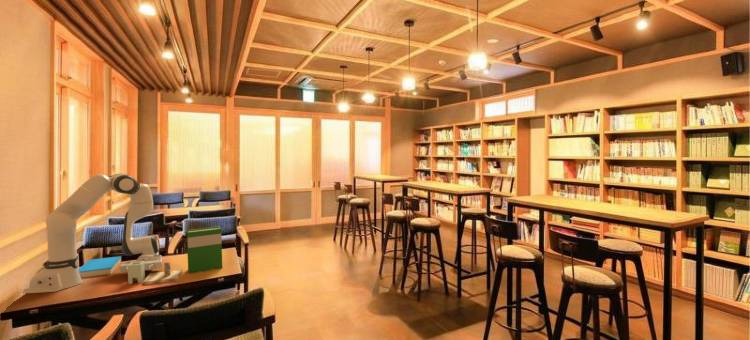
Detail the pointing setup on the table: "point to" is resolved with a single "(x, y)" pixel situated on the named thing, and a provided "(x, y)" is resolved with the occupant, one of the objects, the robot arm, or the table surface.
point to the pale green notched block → (136, 272)
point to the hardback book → (204, 249)
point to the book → (99, 266)
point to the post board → (163, 275)
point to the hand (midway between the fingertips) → (138, 269)
